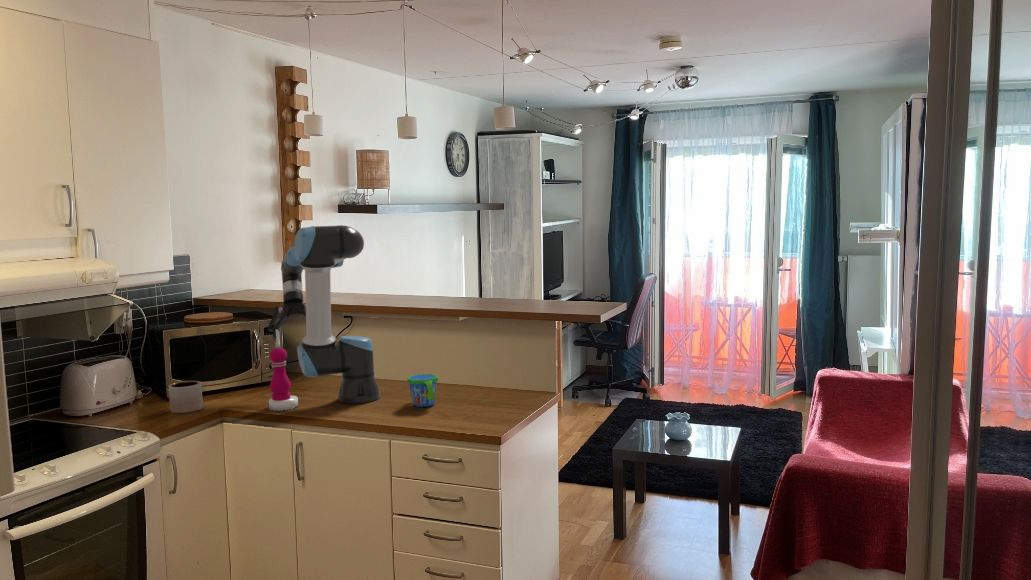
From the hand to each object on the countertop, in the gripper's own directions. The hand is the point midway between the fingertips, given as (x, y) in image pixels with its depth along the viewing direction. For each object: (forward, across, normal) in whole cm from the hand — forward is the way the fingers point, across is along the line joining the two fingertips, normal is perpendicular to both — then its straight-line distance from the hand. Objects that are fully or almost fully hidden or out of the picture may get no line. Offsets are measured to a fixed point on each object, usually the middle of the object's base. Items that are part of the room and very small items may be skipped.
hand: (296, 343), depth 296 cm
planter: (+21, +39, +4) cm, 45 cm away
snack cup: (+37, -45, +12) cm, 60 cm away
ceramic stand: (+27, +5, +7) cm, 28 cm away
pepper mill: (+24, +5, +8) cm, 26 cm away
